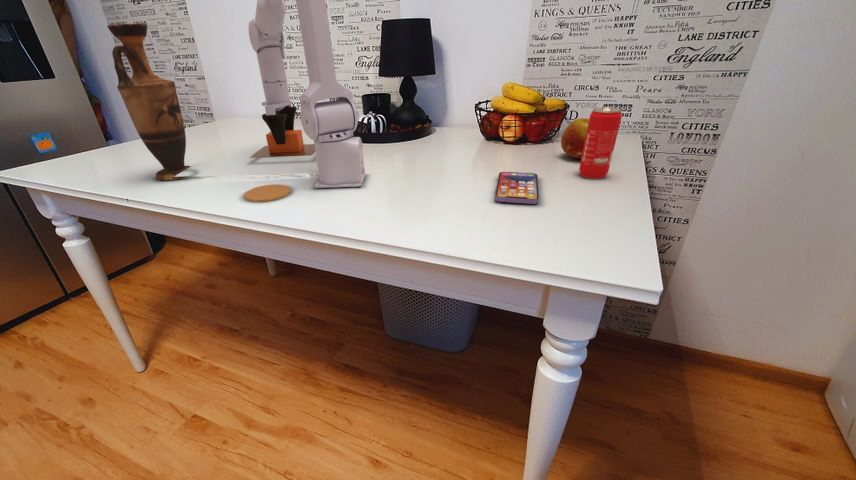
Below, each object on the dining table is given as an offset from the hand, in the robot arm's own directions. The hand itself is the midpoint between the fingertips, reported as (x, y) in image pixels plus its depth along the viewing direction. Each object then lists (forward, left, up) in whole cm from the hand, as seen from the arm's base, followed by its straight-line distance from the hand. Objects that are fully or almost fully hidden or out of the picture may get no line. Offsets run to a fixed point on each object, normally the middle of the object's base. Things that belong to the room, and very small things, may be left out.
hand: (285, 140), depth 102 cm
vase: (+23, +14, -4) cm, 27 cm away
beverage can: (-68, +24, -4) cm, 72 cm away
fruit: (-70, +11, -4) cm, 71 cm away
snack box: (0, 0, -2) cm, 2 cm away
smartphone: (-52, +31, -4) cm, 61 cm away
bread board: (0, 0, -4) cm, 4 cm away
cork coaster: (-4, +29, -4) cm, 30 cm away
